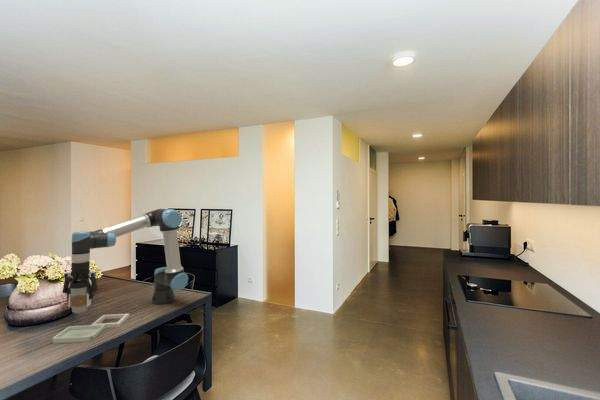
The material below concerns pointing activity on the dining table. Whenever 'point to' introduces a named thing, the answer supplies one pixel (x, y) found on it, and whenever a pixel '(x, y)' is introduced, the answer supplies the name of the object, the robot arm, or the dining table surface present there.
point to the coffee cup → (79, 296)
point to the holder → (112, 316)
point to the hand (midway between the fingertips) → (79, 305)
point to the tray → (78, 334)
